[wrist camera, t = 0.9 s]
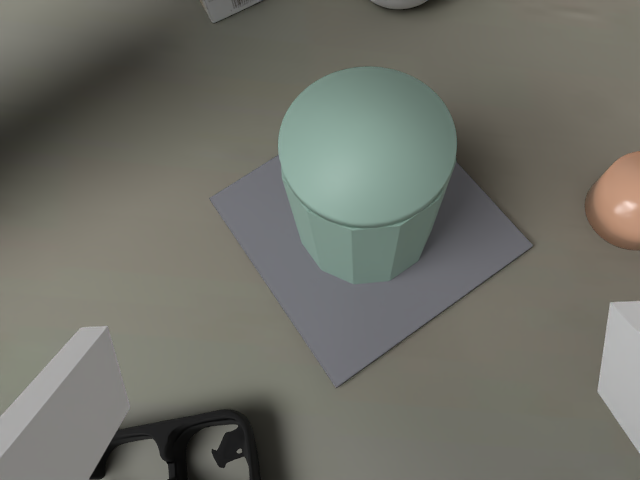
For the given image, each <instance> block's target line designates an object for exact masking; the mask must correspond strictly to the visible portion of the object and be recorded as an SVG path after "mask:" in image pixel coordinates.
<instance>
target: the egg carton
mask: <svg viewBox="0 0 640 480" xmlns="http://www.w3.org/2000/svg"><path fill="white" fill-rule="evenodd" d="M228 424H236V425H238V428H237V429H235V430H233V431H231V432H227V433H225V435H224V437H223V439H222V441H221V444H220V446H219V448H218V450H217V451H216V450H213V449H212V454H213V457H214V459H215V461H216V462H217V464H218V466H219V467H221V468H225V465H226V463H228V462H230V461H232V460H235V459H238V458H241V457H245V458H246V460H247V463H248V466H249V476H250V480H261V477H260V469H259V460H258V454H257V448H256V444H255V439H254V435H253V431H252V428H251V425H250V422H249V420H248V419H247V418H246V417H245V416H244V415H243V414H241V413H239V412H237V411H235V410H229V409H226V410H218V411H213V412H208V413H203V414H198V415H193V416H188V417H183V418H178V419H172V420H167V421H161V422H156V423H151V424H146V425H141V426H136V427H131V428H126V429H121V430H117V431H116V433H115V435H114V437H113V438H112V440H111V442H110V443H109V445H108V447H107V449H106V450H105V452H104V454H103V456H102V457H101V459H100V461H99V462H98V464H97V466H96V468H95V469H94V471H93V473H92V474H91V476H90V478H89V479H90V480H99V479H102V478H103V477H104V476H105V465H106V460H107V458H108V455H109V454H110V452H111V451H112V450H113V449H114V448H116V447H117V446H118V445H121V444H124V443H128V442H133V441H138V440H144V439H152V438H153V439H154V440H155V442H156V443H157V445H158V448H159V451H160V456H161V458H162V459H163V460H164V461H166V462H167V464H168V468H169V479H168V480H188V477H187V466H186V448H187V444H188V442H189V440H190V439H191V438H192V436H193V435H194V434H196V433H197V432H198V431H200V430H201V429H203V428H205V427H210V426H217V425H228ZM240 448H241V449H242V453H240V454H238V453H237V452H236V451H237V450H238V449H240Z"/></svg>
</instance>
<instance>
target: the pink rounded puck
mask: <svg viewBox="0 0 640 480" xmlns="http://www.w3.org/2000/svg"><path fill="white" fill-rule="evenodd" d="M585 212H586V216H587V219H588V221H589V223H590V225H591V226H592V228H593V229H594V230H595V231H596V233H597V234H598V235H599V236H601V237H602V238H603V239H604V240H606V241H607V242H609V243H611V244H613V245H615V246H617V247H620V248H623V249H628V250H640V151H638V152H633V153H629V154H627V155H624V156H622V157H621V158H619V159H618V160H616V161H615V162H614V163H613V164H612V165H611V166H610V167H609V169H608V170H607V171H606V172H605V173H604V174H603V175H602V176H601V177H600V178H599V179H598V180H597V181H596V182H595V183H594V184H593V185H592V187H591V188H590V189H589V191H588V193H587V196H586V199H585Z"/></svg>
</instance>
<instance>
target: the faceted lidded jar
mask: <svg viewBox="0 0 640 480" xmlns="http://www.w3.org/2000/svg"><path fill="white" fill-rule="evenodd" d="M278 151H279V159H280V162H281V172H282V180H283V183H284V187H285V190H286V193H287V197H288V200H289V203H290V206H291V210H292V213H293V216H294V219H295V223H296V226H297V229H298V232H299V236H300V239H301V242H302V244H303V246H304V247H305V248H306V250H307V251H308V252H309V254H310V255H311V257H312V258H313V259H314V261H315V262H316V264H317V265H318V266H319V268H320V269H321V270H322V271H324V272H327V273H329V274H331V275H333V276H336V277H338V278H340V279H343V280H345V281H347V282H349V283H352V284H363V283H373V282H384V281H390V280H392V279H393V278H394V277H396V276H397V275H399V274H400V273H402V272H403V271H405V270H406V269H407V268H409V267H410V266H412V265H413V264H415V263H416V262H417V261H418V260H419V258H420V256H421V253H422V251H423V249H424V246H425V244H426V242H427V239H428V237H429V235H430V233H431V230H432V228H433V225H434V222H435V219H436V216H437V214H438V211H439V208H440V205H441V202H442V200H443V197H444V194H445V191H446V189H447V186H448V183H449V180H450V177H451V175H452V172H453V169H454V166H455V163H456V161H457V160H456V151H457V137H456V129H455V126H454V122H453V119H452V117H451V115H450V112H449V110H448V109H447V107H446V106H445V104H444V102H443V101H442V100H441V99H440V98H439V96H438V95H437V94H436V93H435V92H434V91H433V90H432V89H431V88H429V87H428V86H427V85H425V84H424V83H423V82H421V81H420V80H418V79H416V78H414V77H412V76H410V75H408V74H405V73H403V72H400V71H396V70H393V69H389V68H382V67H369V66H368V67H355V68H349V69H344V70H341V71H337V72H334V73H332V74H329V75H327V76H325V77H323V78H321V79H319V80H317V81H316V82H314V83H313V84H311V85H310V86H308V87H307V88H306V89H305V90H304V91H303V92H302V93H300V94H299V96H298V97H297V98H296V99H295V100H294V101H293V103H292V104H291V106H290V107H289V109H288V110H287V112H286V114H285V116H284V118H283V121H282V124H281V127H280V132H279V138H278Z"/></svg>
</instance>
